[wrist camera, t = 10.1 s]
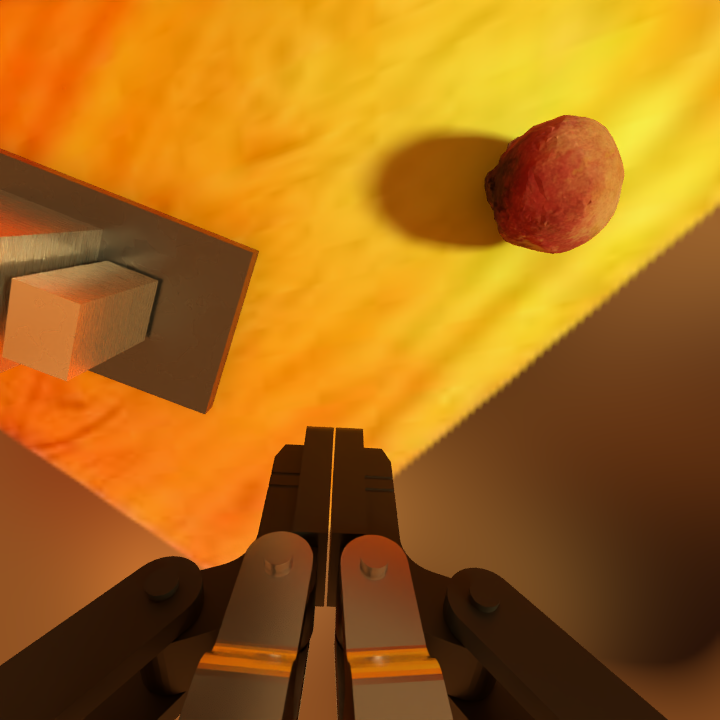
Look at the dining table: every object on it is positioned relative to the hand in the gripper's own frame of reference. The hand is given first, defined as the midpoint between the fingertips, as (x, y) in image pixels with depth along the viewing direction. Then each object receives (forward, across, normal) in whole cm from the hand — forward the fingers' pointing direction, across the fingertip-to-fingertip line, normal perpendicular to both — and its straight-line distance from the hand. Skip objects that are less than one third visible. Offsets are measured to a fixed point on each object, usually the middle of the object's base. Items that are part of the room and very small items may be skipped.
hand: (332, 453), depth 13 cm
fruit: (+24, -13, -4) cm, 28 cm away
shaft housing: (+26, +21, +5) cm, 34 cm away
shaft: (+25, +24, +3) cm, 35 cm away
